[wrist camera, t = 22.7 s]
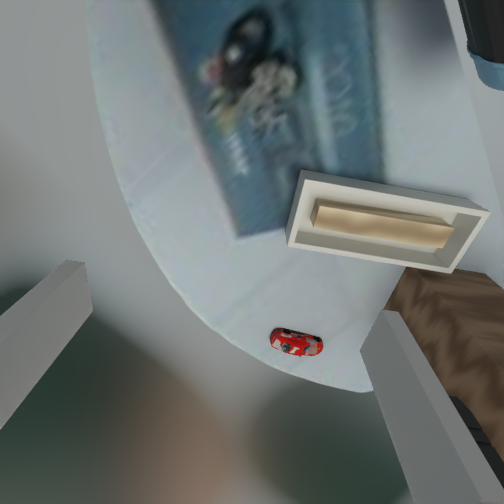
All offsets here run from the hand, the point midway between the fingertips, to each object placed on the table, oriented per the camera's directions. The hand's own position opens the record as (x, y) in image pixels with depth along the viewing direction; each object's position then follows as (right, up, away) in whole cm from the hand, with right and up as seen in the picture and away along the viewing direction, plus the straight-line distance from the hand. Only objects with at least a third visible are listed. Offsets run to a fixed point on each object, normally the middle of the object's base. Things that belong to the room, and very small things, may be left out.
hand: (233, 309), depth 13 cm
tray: (+23, +9, +38) cm, 46 cm away
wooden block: (+39, -8, +48) cm, 62 cm away
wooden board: (+23, +9, +38) cm, 45 cm away
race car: (+12, -19, +56) cm, 60 cm away
